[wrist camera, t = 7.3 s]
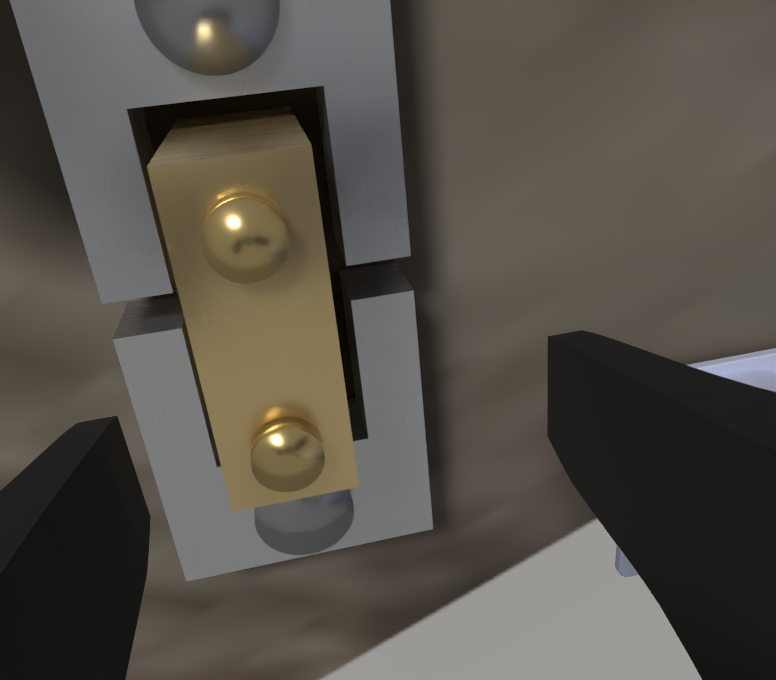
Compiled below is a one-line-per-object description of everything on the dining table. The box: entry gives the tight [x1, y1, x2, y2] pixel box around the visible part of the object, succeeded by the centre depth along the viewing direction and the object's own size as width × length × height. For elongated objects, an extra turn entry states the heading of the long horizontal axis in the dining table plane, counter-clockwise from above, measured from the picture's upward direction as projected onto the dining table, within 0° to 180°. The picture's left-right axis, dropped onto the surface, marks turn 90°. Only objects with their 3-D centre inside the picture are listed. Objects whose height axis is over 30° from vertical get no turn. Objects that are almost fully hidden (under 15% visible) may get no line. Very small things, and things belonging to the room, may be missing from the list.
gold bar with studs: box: [147, 106, 359, 512], centre depth 17 cm, size 8×3×7 cm, turn 6°
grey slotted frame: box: [10, 0, 433, 582], centre depth 19 cm, size 18×8×3 cm, turn 6°
